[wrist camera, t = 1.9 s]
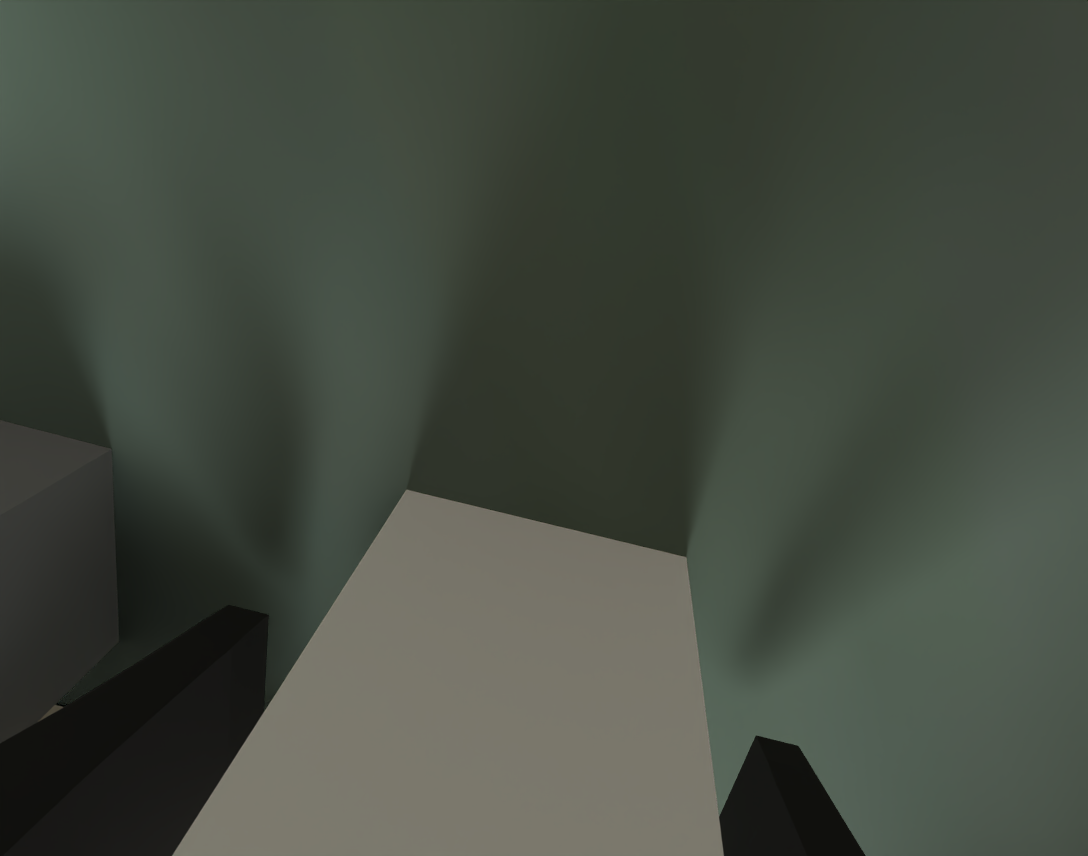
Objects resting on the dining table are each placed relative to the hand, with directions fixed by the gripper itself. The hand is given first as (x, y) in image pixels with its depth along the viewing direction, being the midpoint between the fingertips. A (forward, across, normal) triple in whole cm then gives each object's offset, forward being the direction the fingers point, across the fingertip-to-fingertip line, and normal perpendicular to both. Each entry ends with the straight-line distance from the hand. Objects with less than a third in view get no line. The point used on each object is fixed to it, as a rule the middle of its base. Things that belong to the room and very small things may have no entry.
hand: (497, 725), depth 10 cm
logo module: (+2, 0, 0) cm, 2 cm away
